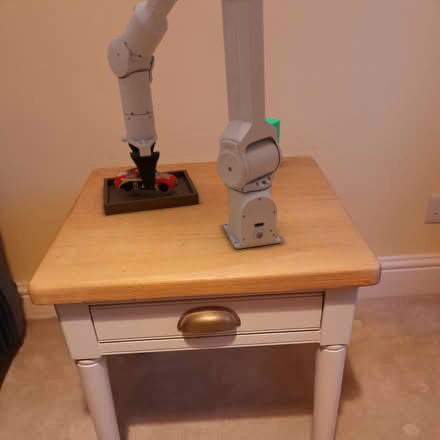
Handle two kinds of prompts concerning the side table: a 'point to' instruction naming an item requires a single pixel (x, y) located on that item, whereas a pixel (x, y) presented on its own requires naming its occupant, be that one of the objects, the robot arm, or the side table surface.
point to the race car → (134, 182)
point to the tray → (149, 196)
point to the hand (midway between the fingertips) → (147, 181)
